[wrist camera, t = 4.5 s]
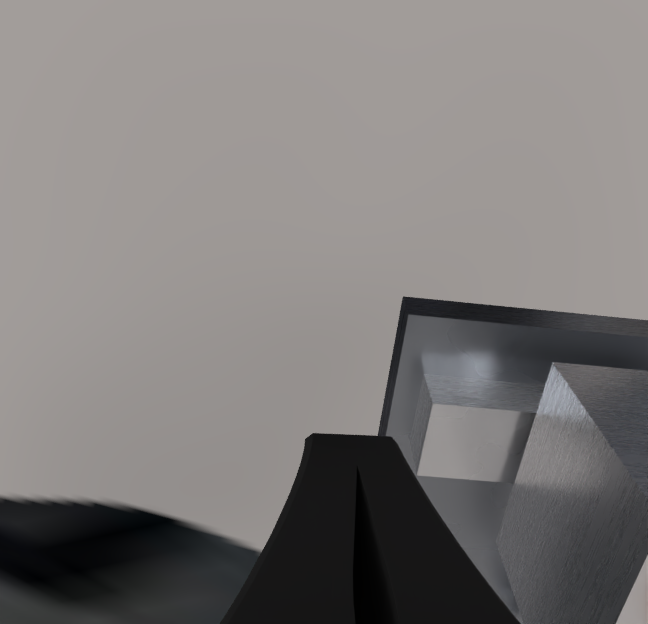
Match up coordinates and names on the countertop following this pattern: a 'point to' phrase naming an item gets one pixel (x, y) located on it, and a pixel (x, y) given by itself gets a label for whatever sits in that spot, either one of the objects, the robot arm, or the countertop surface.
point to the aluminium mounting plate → (485, 403)
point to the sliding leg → (582, 501)
